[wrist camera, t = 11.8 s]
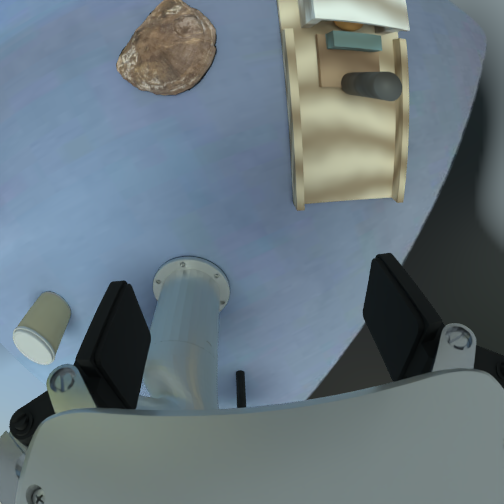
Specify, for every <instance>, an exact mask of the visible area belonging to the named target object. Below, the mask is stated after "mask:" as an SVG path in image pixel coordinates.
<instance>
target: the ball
mask: <svg viewBox="0 0 504 504" xmlns="http://www.w3.org/2000/svg"><path fill="white" fill-rule="evenodd" d="M334 23H335V24H336V25H337V26H338V27H339V28H341V29H342V30H345V31H356V30H359V29H360V28H361V27H362V26H363V25H364V24H360V23H351V22H341V21H334Z"/></svg>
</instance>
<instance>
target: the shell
mask: <svg viewBox="0 0 504 504" xmlns="http://www.w3.org/2000/svg"><path fill="white" fill-rule="evenodd" d="M189 6H190V5H189ZM189 6H188V5H187V4H186V3H185V2H183V1H182V0H163V1H162V2H161V3H160V4H159V5H158V6H157V7H156V8H155V9H154V10H153V11H152V13H150V15H149V16H148V17H147V19H146V20H145V21H144V22H143V24H141V26H140V27H139V28H137V29H136V31H135V32H134V34H133V35H132V38H131V40H130V41H129V43H128V44H127V46H125V48H124V49H123V50H122V52H121V54H120V55H119V59H118V61H117V63H116V66H117V71H118V72H119V73H120V74H121V75H122V77H123V78H124V79H125V80H127V81H128V82H130V83H131V84H132V85H133V86H135V87H137V88H138V89H139V90H141V91H142V90H143V91H150V92H152V93H154V94H156V95H158V94H160V95H176V94H178V93H181V92H184V91H186V90H190V89H191V88H192V87H194V86H195V85H196V84H198V83H199V82H200V81H201V80H202V78H203V77H204V76H205V74H206V73H207V71H208V70H209V68H210V67H211V65H212V63H213V60H214V57H215V54H216V48H215V47H216V46H215V44H216V32H215V28H214V26H213V25H212V24H211V22H210V21H209V20H208V18H207V17H205V16H204V15H203V14H202V13H201V12H200V11H199V10H197V9H194V8H191V7H189Z"/></svg>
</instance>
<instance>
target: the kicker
mask: <svg viewBox="0 0 504 504" xmlns="http://www.w3.org/2000/svg"><path fill="white" fill-rule="evenodd" d="M315 39H316V49H317V60H318V72H319V86H320V87H341V88H342V90H343V91H344V92H345V93H347V94H349V95H355V96H361V97H368V98H374V99H380V100H385V101H395V100H397V99H398V98H399V97H400V96H401V93H402V83H401V81H400V79H399V77H398V76H397V75H396V74H394V73H392V72H380V65H379V51H382V40H381V36H380V35H373V34H365V33H357V32H347V31H334V30H333V31H331V32H329V33H327V34H316V35H315Z"/></svg>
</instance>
